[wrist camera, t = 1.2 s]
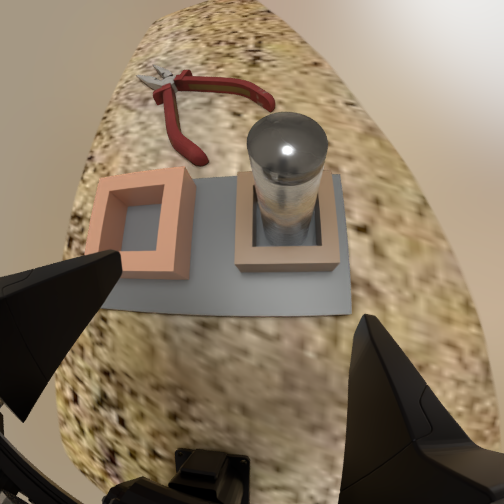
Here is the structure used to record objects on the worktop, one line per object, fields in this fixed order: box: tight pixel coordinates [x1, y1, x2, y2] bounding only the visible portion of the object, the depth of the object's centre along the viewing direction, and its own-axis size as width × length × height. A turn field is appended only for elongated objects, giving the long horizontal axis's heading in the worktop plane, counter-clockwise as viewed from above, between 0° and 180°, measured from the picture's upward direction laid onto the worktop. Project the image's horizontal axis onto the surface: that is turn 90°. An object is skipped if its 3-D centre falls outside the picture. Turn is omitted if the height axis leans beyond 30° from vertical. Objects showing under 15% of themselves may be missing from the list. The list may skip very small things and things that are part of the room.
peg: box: [247, 112, 328, 246], centre depth 17 cm, size 4×4×12 cm
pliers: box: [136, 65, 275, 166], centre depth 29 cm, size 12×20×3 cm, turn 44°
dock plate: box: [101, 170, 352, 317], centre depth 22 cm, size 12×22×4 cm, turn 89°
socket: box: [85, 166, 196, 280], centre depth 22 cm, size 8×8×4 cm
